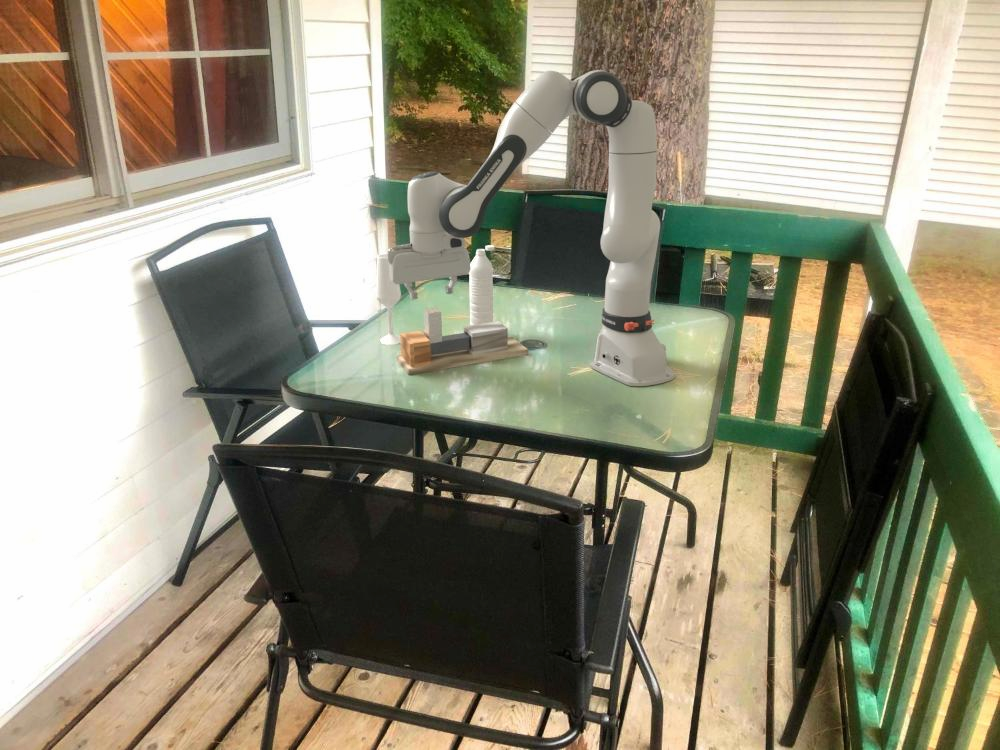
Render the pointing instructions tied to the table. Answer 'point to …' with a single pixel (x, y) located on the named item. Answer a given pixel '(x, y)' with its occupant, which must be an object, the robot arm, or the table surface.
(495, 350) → the base
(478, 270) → the water bottle
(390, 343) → the champagne flute
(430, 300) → the table surface
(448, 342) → the slider with upright handle
